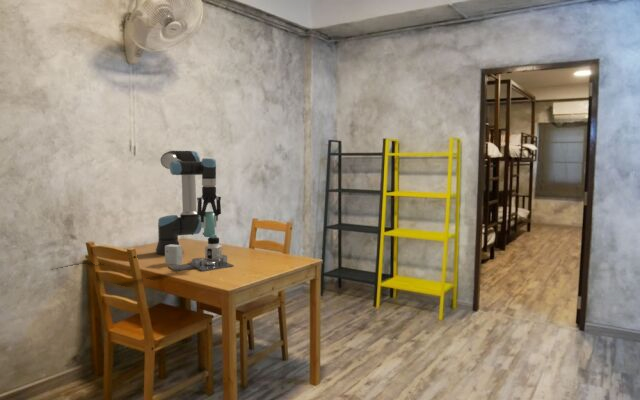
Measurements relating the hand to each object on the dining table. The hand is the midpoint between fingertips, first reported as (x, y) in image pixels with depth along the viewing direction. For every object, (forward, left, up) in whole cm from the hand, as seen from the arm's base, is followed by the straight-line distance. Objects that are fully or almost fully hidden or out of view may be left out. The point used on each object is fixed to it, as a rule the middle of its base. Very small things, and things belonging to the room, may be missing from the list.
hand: (209, 227), depth 254 cm
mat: (-4, -15, -22) cm, 27 cm away
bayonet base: (0, 0, -22) cm, 22 cm away
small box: (-17, -14, -22) cm, 31 cm away
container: (-15, +10, -22) cm, 29 cm away
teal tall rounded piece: (0, 0, -5) cm, 5 cm away
